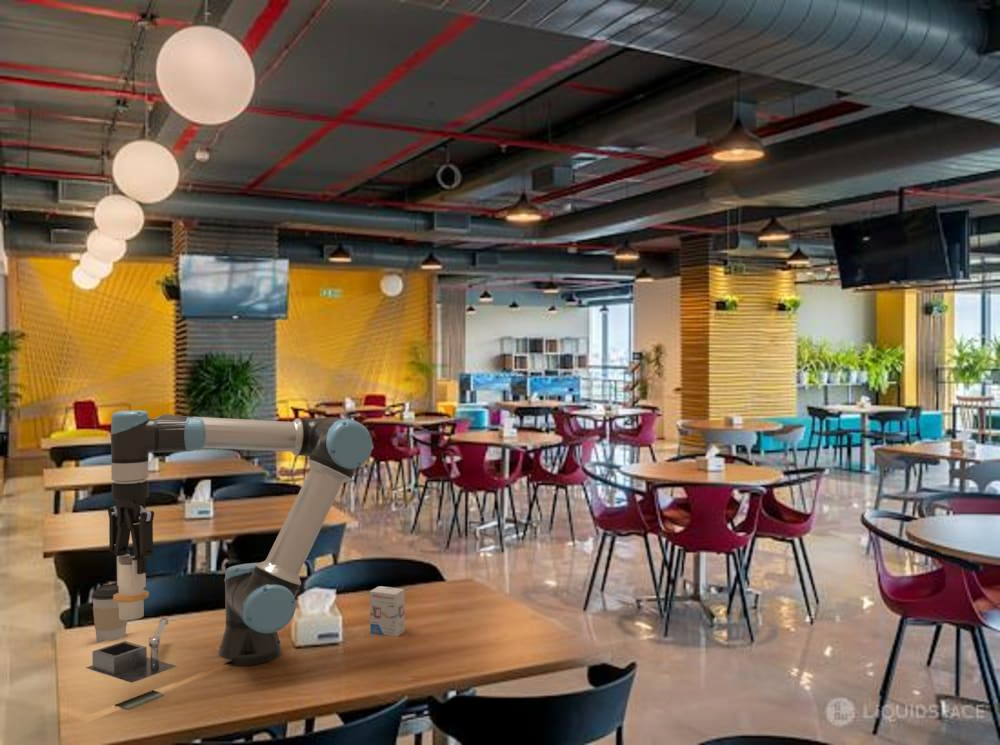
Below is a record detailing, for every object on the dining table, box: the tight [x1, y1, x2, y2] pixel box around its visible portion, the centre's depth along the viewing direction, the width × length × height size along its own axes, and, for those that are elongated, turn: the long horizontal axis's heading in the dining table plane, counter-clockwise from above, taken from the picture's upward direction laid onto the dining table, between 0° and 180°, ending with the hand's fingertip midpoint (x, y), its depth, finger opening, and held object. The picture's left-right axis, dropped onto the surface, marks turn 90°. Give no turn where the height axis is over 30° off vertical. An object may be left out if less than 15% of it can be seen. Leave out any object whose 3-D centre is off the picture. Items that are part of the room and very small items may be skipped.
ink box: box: [369, 585, 406, 637], centre depth 229 cm, size 9×5×12 cm, turn 68°
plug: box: [113, 555, 150, 621], centre depth 185 cm, size 7×7×13 cm
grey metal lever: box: [148, 617, 169, 647], centre depth 207 cm, size 18×2×2 cm, turn 14°
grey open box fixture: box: [85, 640, 178, 684], centre depth 200 cm, size 18×12×7 cm, turn 58°
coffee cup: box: [91, 581, 128, 644], centre depth 223 cm, size 9×9×15 cm
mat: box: [114, 689, 165, 710], centre depth 185 cm, size 9×9×1 cm
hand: (131, 586), depth 185 cm, fingers closed on plug, 5 cm apart
